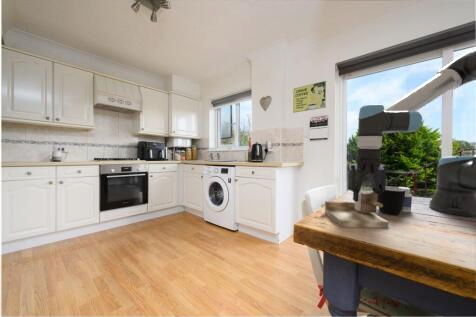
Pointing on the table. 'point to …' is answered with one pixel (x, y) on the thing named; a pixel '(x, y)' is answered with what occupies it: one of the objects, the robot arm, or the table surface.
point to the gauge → (369, 202)
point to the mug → (392, 200)
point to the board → (352, 215)
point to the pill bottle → (406, 200)
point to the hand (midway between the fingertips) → (365, 209)
